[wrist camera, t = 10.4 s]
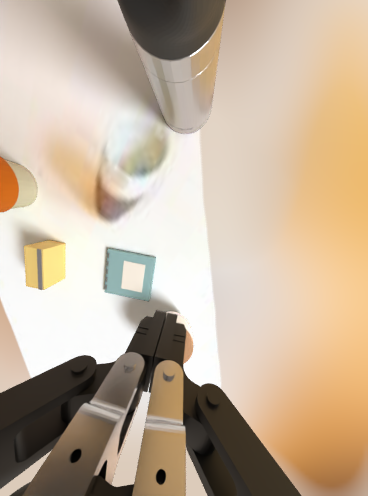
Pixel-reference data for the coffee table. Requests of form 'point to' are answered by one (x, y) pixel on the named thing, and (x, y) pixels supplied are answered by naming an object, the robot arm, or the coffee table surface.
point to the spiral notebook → (129, 274)
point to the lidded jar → (189, 335)
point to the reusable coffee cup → (16, 186)
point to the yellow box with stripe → (44, 264)
